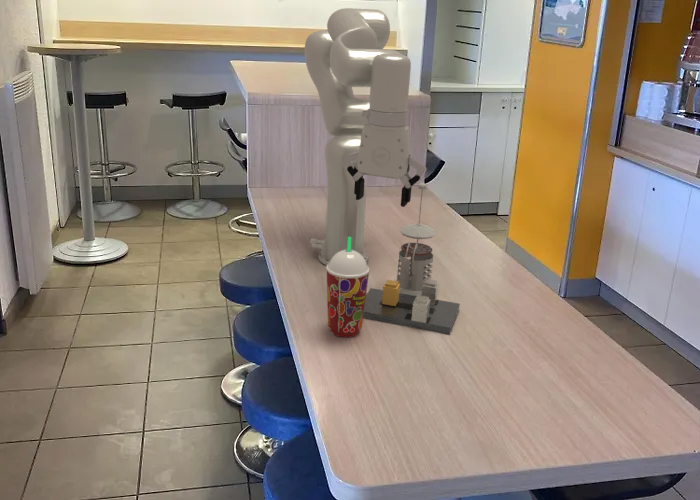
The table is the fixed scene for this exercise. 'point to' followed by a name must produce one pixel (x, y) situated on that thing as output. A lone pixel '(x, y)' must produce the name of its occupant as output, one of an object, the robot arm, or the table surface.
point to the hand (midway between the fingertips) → (381, 201)
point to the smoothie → (346, 291)
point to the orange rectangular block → (391, 293)
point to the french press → (415, 257)
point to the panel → (399, 313)
